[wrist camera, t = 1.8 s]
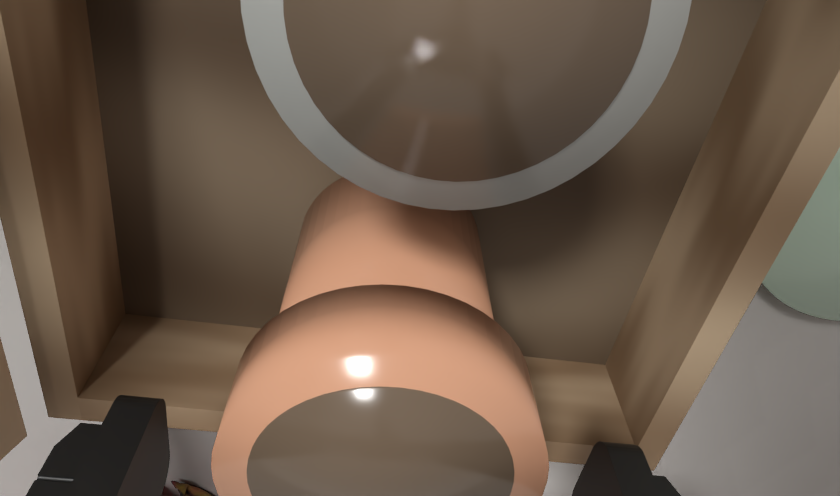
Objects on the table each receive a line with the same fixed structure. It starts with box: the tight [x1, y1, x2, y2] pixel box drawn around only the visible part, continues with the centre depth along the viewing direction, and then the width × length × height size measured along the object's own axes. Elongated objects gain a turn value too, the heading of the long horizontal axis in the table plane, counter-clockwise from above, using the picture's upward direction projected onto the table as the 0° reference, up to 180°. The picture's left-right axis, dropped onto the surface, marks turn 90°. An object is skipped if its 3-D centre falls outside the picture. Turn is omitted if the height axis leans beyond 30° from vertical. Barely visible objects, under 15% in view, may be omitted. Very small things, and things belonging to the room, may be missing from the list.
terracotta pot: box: [211, 177, 549, 496], centre depth 14 cm, size 6×6×7 cm
